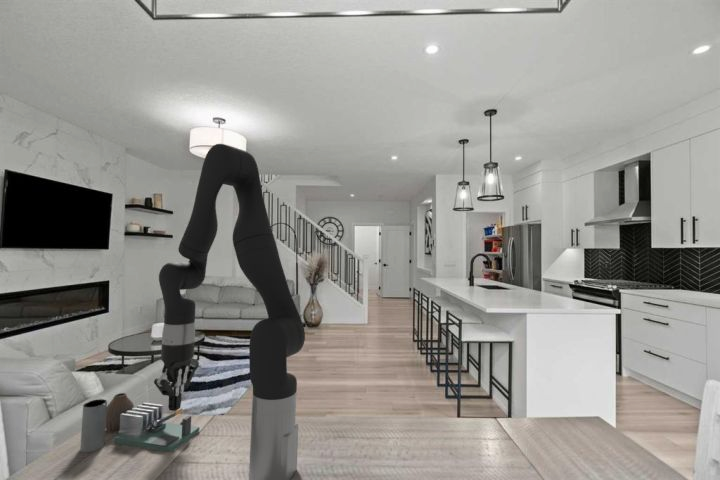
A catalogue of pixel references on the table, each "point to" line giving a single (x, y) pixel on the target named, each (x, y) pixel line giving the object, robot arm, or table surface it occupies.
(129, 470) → the table surface
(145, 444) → the board
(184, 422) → the block
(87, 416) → the planter
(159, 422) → the blue-grey flat piece
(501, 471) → the table surface
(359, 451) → the table surface
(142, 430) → the heatsink
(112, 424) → the vase
